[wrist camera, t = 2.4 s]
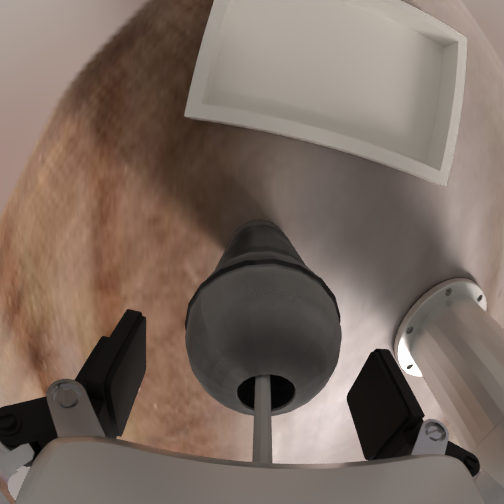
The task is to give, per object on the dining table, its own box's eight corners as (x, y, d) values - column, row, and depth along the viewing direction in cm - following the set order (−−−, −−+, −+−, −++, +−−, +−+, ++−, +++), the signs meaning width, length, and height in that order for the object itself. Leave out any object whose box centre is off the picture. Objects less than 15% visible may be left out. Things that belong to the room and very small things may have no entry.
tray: (448, 44, 17) (467, 38, 14) (427, 181, 22) (446, 187, 19) (232, -27, 16) (230, -45, 13) (192, 119, 21) (183, 116, 18)
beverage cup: (226, 294, 26) (190, 534, 7) (204, 213, 23) (73, 440, 5) (309, 278, 25) (386, 512, 6) (295, 194, 23) (438, 402, 4)
